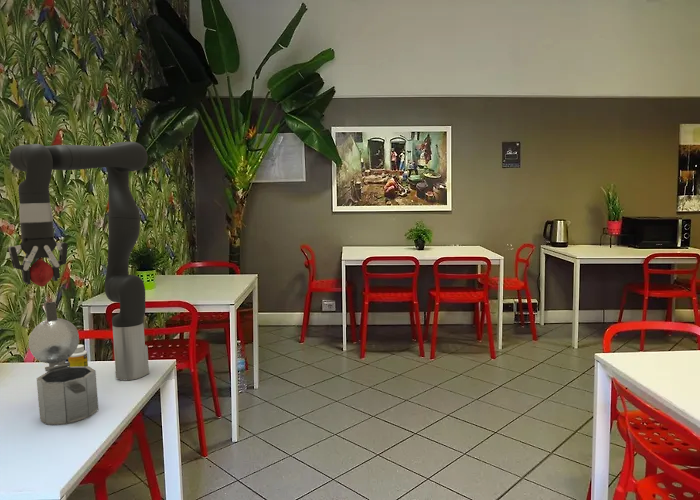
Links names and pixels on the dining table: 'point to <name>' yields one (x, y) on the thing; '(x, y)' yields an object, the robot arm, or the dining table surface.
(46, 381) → the pot
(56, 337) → the lid
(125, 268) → the robot arm
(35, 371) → the dining table surface
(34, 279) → the onion
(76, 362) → the supplement bottle
